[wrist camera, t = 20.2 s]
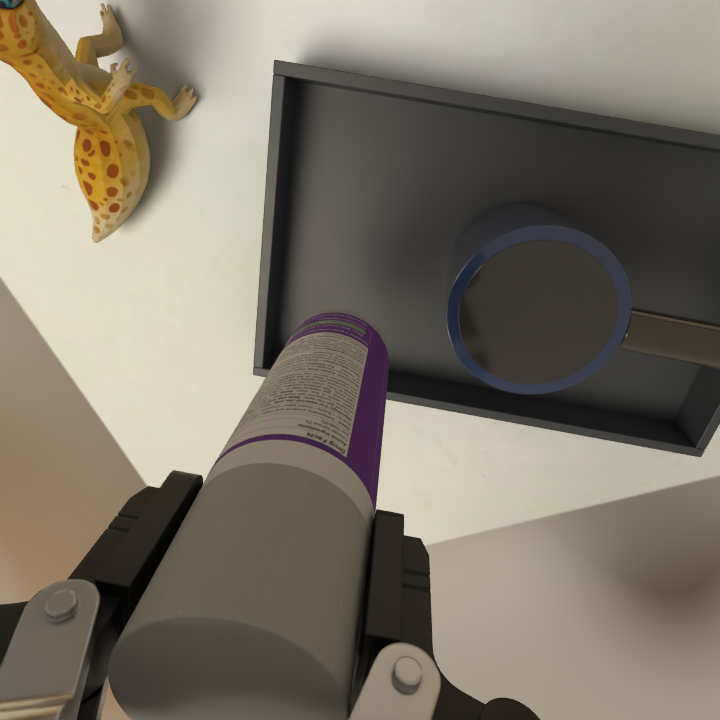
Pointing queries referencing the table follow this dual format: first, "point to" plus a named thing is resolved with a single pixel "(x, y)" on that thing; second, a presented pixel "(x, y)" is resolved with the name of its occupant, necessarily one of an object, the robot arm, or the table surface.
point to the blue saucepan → (551, 305)
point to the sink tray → (458, 209)
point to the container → (271, 548)
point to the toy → (90, 106)
